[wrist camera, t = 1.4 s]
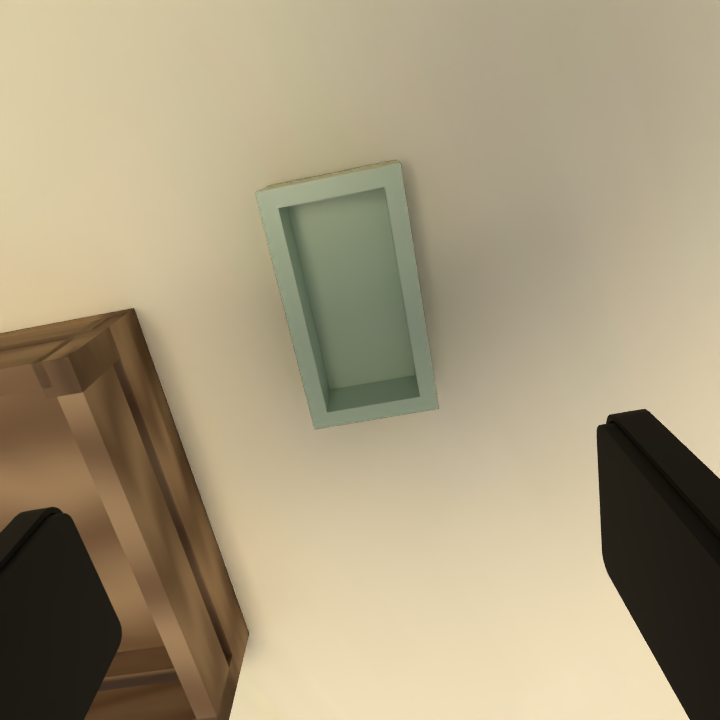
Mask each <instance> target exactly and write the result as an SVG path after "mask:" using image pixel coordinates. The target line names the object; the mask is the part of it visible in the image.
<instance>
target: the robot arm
mask: <svg viewBox="0 0 720 720" xmlns="http://www.w3.org/2000/svg"><path fill="white" fill-rule="evenodd" d="M597 452H598V473H599V495H600V517H601V538H602V555H603V560H604V564H605V567H606V570H607V572H608V575H609V577H610V578H611V580H612V582H613V584H614V586H615V587H616V589H617V591H618V593H619V594H620V596H621V598H622V600H623V602H624V603H625V605H626V607H627V609H628V610H629V612H630V614H631V616H632V618H633V619H634V621H635V623H636V625H637V626H638V628H639V630H640V632H641V634H642V635H643V637H644V639H645V641H646V642H647V644H648V646H649V648H650V650H651V651H652V653H653V655H654V657H655V659H656V660H657V662H658V664H659V666H660V667H661V669H662V671H663V673H664V675H665V676H666V678H667V680H668V682H669V683H670V685H671V687H672V689H673V691H674V692H675V694H676V696H677V698H678V699H679V701H680V703H681V705H682V707H683V708H684V710H685V712H686V714H687V715H688V717H689V719H690V720H720V479H719V478H718V477H717V476H716V475H715V474H714V473H713V472H712V471H711V470H710V469H709V468H708V467H707V466H706V465H705V464H704V463H703V462H702V461H700V460H699V459H698V458H697V457H696V456H695V455H694V454H693V453H692V452H691V451H690V450H689V449H688V448H687V447H686V446H685V445H684V444H683V443H682V442H681V441H679V440H678V439H677V438H676V437H675V436H674V435H673V434H672V433H671V432H670V431H669V430H668V429H667V428H666V427H665V426H664V425H663V424H662V423H661V422H660V421H659V420H657V419H656V418H655V417H654V416H653V415H652V414H651V413H650V412H649V411H647V410H646V409H641V410H635V411H629V412H623V413H617V414H611V415H609V416H608V418H607V421H606V424H603V425H599V426H598V428H597ZM121 639H122V627H121V624H120V621H119V619H118V617H117V615H116V612H115V610H114V608H113V606H112V604H111V601H110V599H109V597H108V595H107V593H106V591H105V588H104V586H103V584H102V582H101V580H100V578H99V575H98V573H97V571H96V569H95V567H94V565H93V562H92V560H91V558H90V556H89V554H88V552H87V549H86V547H85V545H84V543H83V541H82V539H81V536H80V534H79V532H78V530H77V528H76V525H75V523H74V521H73V519H72V518H71V516H70V515H68V514H66V513H63V512H62V511H61V510H60V509H59V508H57V507H48V508H42V509H36V510H30V511H24V512H21V513H19V514H18V515H17V516H15V517H14V518H13V520H12V521H11V522H10V523H9V524H8V525H7V526H6V527H5V528H4V529H3V530H2V531H1V533H0V720H84V719H85V717H86V715H87V712H88V710H89V708H90V706H91V704H92V702H93V700H94V698H95V696H96V694H97V692H98V690H99V688H100V686H101V683H102V681H103V679H104V677H105V675H106V673H107V671H108V669H109V667H110V665H111V663H112V661H113V659H114V657H115V655H116V652H117V650H118V648H119V646H120V643H121Z"/></svg>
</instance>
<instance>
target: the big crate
mask: <svg viewBox="0 0 720 720" xmlns="http://www.w3.org/2000/svg"><path fill="white" fill-rule="evenodd" d="M48 507H57V508H59V509H60V510H61V511H62V512H63V513H66V514H68V515H70V516H71V518H72V519H73V521H74V523H75V525H76V528H77V530H78V532H79V534H80V536H81V539H82V541H83V543H84V545H85V547H86V549H87V552H88V554H89V556H90V558H91V560H92V562H93V565H94V567H95V569H96V571H97V573H98V575H99V578H100V580H101V582H102V584H103V586H104V588H105V591H106V593H107V595H108V597H109V599H110V601H111V604H112V606H113V608H114V610H115V612H116V615H117V617H118V619H119V621H120V624H121V627H122V639H121V643H120V646H119V648H118V650H117V652H116V655H115V657H114V659H113V661H112V663H111V665H110V667H109V669H108V671H107V673H106V675H105V677H104V679H103V681H102V683H101V686H100V688H99V690H98V692H97V694H96V696H95V698H94V700H93V702H92V704H91V706H90V708H89V710H88V712H87V715H86V717H85V719H84V720H229V717H230V713H231V708H232V704H233V700H234V696H235V691H236V687H237V683H238V679H239V674H240V670H241V666H242V661H243V657H244V653H245V649H246V644H247V640H248V636H249V632H248V629H247V627H246V624H245V621H244V618H243V615H242V613H241V610H240V607H239V604H238V601H237V598H236V596H235V593H234V590H233V587H232V584H231V582H230V579H229V576H228V573H227V570H226V567H225V565H224V562H223V559H222V556H221V553H220V551H219V548H218V545H217V542H216V539H215V536H214V534H213V531H212V528H211V525H210V522H209V520H208V517H207V514H206V511H205V508H204V505H203V503H202V500H201V497H200V494H199V491H198V489H197V486H196V483H195V480H194V477H193V474H192V472H191V469H190V466H189V463H188V460H187V457H186V455H185V452H184V449H183V446H182V443H181V441H180V438H179V435H178V432H177V429H176V426H175V424H174V421H173V418H172V415H171V412H170V410H169V407H168V404H167V401H166V398H165V395H164V393H163V390H162V387H161V384H160V381H159V379H158V376H157V373H156V370H155V367H154V364H153V362H152V359H151V356H150V353H149V350H148V348H147V345H146V342H145V339H144V336H143V333H142V331H141V328H140V325H139V322H138V319H137V317H136V314H135V311H134V308H133V309H127V310H122V311H117V312H111V313H106V314H101V315H96V316H90V317H85V318H80V319H74V320H69V321H64V322H59V323H53V324H48V325H43V326H37V327H32V328H27V329H21V330H16V331H11V332H6V333H0V533H1V531H2V530H3V529H4V528H5V527H6V526H7V525H8V524H9V523H10V522H11V521H12V520H13V518H14V517H15V516H17V515H18V514H19V513H21V512H24V511H30V510H36V509H42V508H48Z"/></svg>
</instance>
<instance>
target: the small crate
mask: <svg viewBox="0 0 720 720" xmlns="http://www.w3.org/2000/svg"><path fill="white" fill-rule="evenodd" d="M255 195H256V199H257V203H258V207H259V211H260V215H261V219H262V223H263V227H264V231H265V234H266V238H267V242H268V246H269V250H270V254H271V258H272V262H273V266H274V270H275V274H276V278H277V282H278V286H279V290H280V294H281V298H282V302H283V306H284V310H285V314H286V318H287V322H288V326H289V330H290V334H291V338H292V342H293V346H294V350H295V354H296V358H297V362H298V366H299V370H300V374H301V378H302V382H303V385H304V389H305V393H306V397H307V401H308V405H309V409H310V413H311V417H312V421H313V425H314V429H320V428H326V427H332V426H338V425H344V424H350V423H356V422H362V421H368V420H374V419H380V418H386V417H392V416H398V415H404V414H410V413H416V412H422V411H428V410H434V409H439V406H438V399H437V393H436V387H435V380H434V374H433V367H432V361H431V355H430V348H429V342H428V335H427V329H426V323H425V316H424V310H423V303H422V297H421V291H420V284H419V278H418V272H417V265H416V259H415V252H414V246H413V240H412V233H411V227H410V220H409V214H408V208H407V201H406V195H405V188H404V182H403V176H402V169H401V163H400V162H398V161H397V160H393V161H388V162H383V163H378V164H373V165H369V166H364V167H359V168H354V169H349V170H344V171H339V172H334V173H329V174H324V175H319V176H314V177H309V178H304V179H299V180H295V181H290V182H285V183H280V184H275V185H270V186H267V187H265V188H263V189H261V190H259V191H257V192H255Z"/></svg>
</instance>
